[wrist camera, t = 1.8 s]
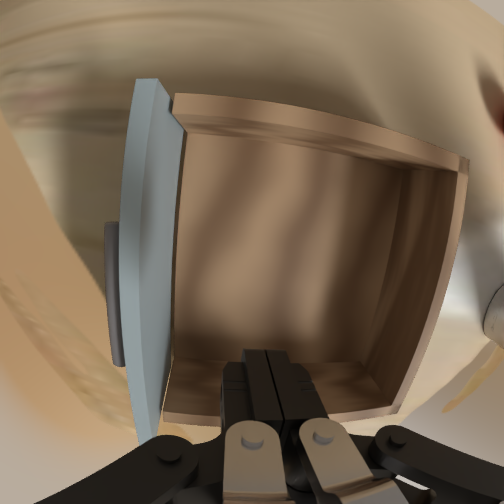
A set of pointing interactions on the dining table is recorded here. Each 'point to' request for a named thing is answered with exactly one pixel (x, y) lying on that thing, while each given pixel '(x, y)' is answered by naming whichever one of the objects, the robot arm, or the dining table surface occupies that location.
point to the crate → (308, 252)
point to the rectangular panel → (144, 253)
